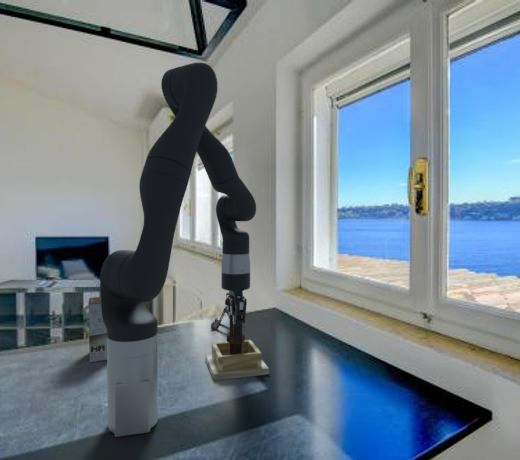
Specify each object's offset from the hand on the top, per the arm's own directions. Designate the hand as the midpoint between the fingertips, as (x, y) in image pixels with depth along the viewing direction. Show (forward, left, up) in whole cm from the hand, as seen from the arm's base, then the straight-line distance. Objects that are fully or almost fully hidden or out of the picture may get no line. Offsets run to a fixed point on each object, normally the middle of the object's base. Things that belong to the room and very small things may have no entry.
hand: (235, 334), depth 103 cm
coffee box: (+18, +35, -9) cm, 40 cm away
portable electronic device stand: (+37, -4, -9) cm, 38 cm away
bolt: (0, 0, -5) cm, 5 cm away
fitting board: (0, 0, -8) cm, 8 cm away
